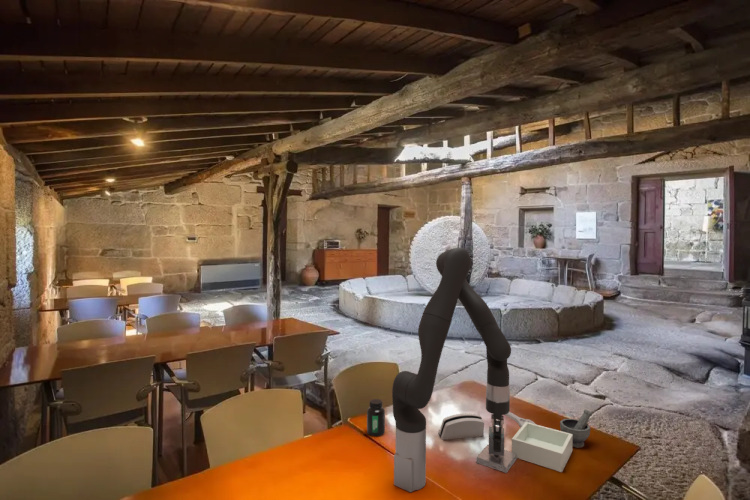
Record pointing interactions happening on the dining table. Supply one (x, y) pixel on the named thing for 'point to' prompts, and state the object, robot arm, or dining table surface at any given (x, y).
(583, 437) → the mortar and pestle
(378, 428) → the supplement bottle
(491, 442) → the grey rectangular block
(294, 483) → the dining table surface
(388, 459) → the dining table surface
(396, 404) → the robot arm
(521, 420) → the adjustable wrench
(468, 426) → the napkin holder
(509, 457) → the stud plate
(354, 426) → the dining table surface
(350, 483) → the dining table surface
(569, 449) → the bin
